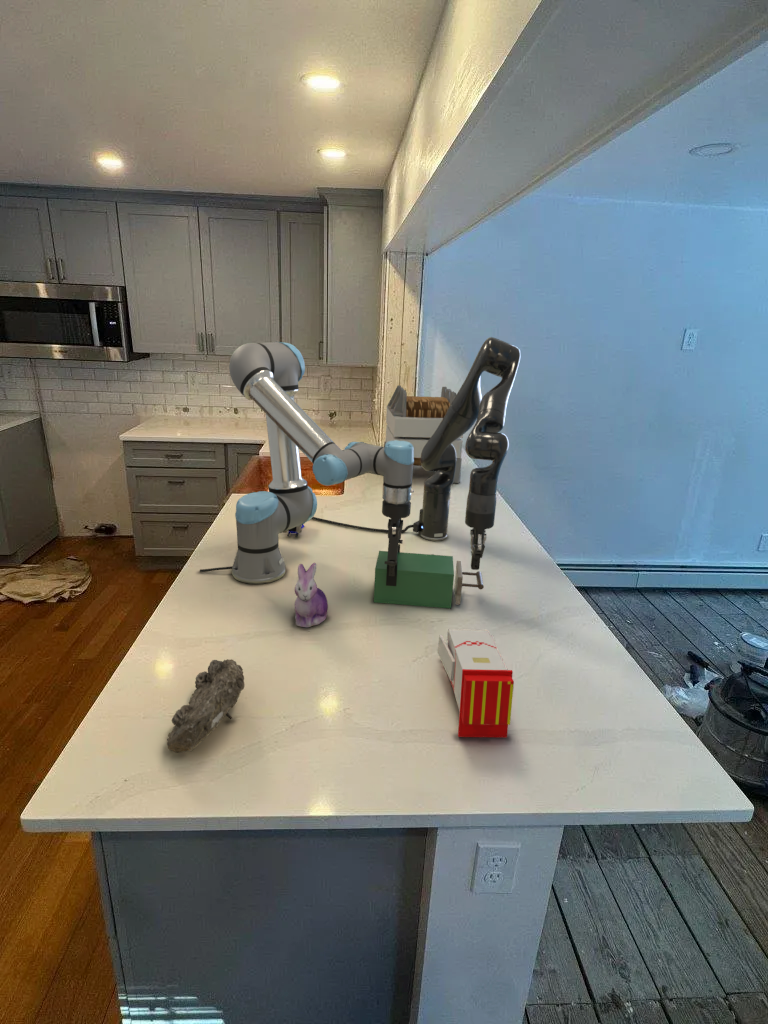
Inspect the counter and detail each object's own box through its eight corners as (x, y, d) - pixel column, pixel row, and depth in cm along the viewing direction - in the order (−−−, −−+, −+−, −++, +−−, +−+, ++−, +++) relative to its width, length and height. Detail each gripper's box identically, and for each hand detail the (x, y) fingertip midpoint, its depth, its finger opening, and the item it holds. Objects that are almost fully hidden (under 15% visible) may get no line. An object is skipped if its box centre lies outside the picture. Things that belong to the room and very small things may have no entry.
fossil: (192, 660, 117) (244, 628, 112) (224, 691, 120) (276, 661, 115) (142, 746, 98) (202, 712, 93) (182, 779, 101) (242, 748, 96)
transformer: (382, 463, 289) (386, 382, 275) (445, 464, 293) (451, 384, 279) (390, 482, 257) (394, 392, 243) (460, 483, 261) (468, 394, 247)
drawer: (479, 588, 161) (482, 562, 158) (482, 606, 151) (485, 579, 148) (390, 581, 163) (391, 555, 160) (387, 599, 153) (389, 571, 150)
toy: (488, 613, 130) (523, 677, 101) (484, 667, 133) (517, 744, 104) (435, 612, 130) (455, 676, 101) (432, 666, 133) (451, 743, 103)
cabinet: (449, 588, 162) (452, 556, 159) (450, 608, 151) (454, 574, 148) (377, 582, 164) (379, 550, 160) (373, 602, 153) (375, 568, 149)
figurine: (299, 632, 137) (299, 576, 132) (286, 613, 145) (285, 559, 140) (336, 624, 141) (336, 570, 136) (320, 605, 149) (321, 553, 144)
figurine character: (302, 543, 191) (306, 522, 205) (301, 523, 188) (306, 503, 202) (282, 542, 191) (288, 522, 205) (281, 522, 188) (287, 503, 201)
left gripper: (409, 517, 137) (404, 596, 144) (412, 487, 160) (408, 558, 167) (378, 514, 138) (374, 594, 145) (386, 486, 160) (382, 556, 167)
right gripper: (498, 517, 141) (491, 580, 147) (492, 501, 153) (486, 559, 159) (467, 515, 141) (462, 578, 147) (464, 499, 154) (459, 557, 160)
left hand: (392, 575), depth 156 cm, fingers closed on cabinet, 12 cm apart
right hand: (474, 568), depth 153 cm, fingers closed
